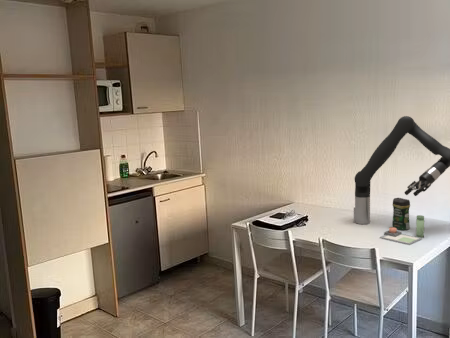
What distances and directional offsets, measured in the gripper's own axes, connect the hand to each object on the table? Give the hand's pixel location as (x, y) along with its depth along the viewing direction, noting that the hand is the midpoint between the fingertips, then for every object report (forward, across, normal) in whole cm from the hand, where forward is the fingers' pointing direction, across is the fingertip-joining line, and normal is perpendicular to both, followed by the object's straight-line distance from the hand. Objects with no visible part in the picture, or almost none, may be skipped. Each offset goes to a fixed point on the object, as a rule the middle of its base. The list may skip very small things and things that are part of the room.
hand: (409, 194), depth 254 cm
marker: (+11, +2, +22) cm, 24 cm away
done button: (+20, -4, +12) cm, 24 cm away
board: (+21, +2, +15) cm, 26 cm away
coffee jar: (+10, -15, +19) cm, 27 cm away
